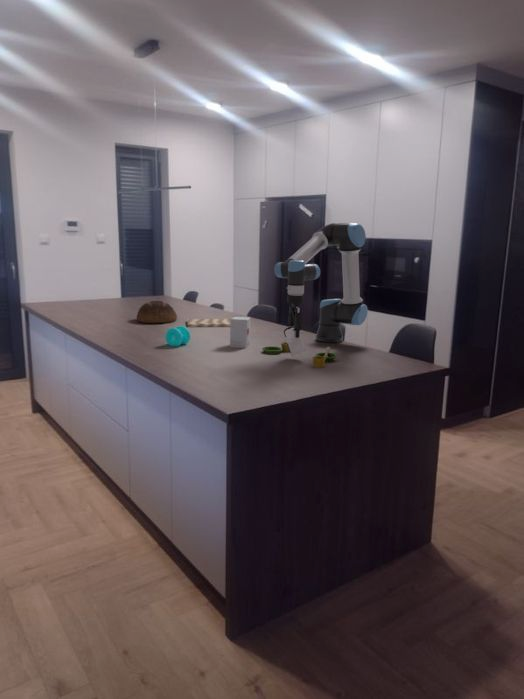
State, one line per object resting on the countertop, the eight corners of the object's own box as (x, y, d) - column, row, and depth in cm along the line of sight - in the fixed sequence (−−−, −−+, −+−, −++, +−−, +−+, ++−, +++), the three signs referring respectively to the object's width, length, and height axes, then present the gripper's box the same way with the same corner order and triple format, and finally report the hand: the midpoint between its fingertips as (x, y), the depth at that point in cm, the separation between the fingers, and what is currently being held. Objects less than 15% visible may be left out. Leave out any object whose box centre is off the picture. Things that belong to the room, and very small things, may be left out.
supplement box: (246, 348, 275) (247, 319, 272) (229, 347, 277) (229, 318, 274) (250, 345, 284) (251, 317, 280) (234, 344, 285) (234, 316, 282)
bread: (174, 317, 369) (173, 298, 366) (179, 323, 344) (179, 303, 341) (135, 318, 361) (134, 298, 359) (138, 324, 336) (137, 304, 334)
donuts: (164, 346, 277) (164, 327, 274) (176, 342, 285) (175, 324, 283) (180, 348, 272) (179, 329, 270) (191, 345, 281) (191, 326, 279)
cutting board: (232, 321, 356) (232, 318, 356) (236, 326, 337) (236, 324, 336) (186, 321, 351) (186, 319, 351) (187, 327, 332) (187, 324, 331)
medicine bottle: (289, 351, 256) (280, 329, 252) (303, 345, 256) (294, 323, 252) (292, 356, 249) (283, 333, 245) (306, 350, 249) (297, 327, 245)
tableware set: (351, 367, 246) (352, 354, 245) (300, 374, 233) (301, 359, 232) (302, 349, 281) (303, 337, 280) (256, 354, 268) (256, 341, 267)
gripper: (282, 291, 256) (281, 337, 261) (293, 297, 235) (291, 347, 240) (297, 291, 258) (296, 337, 263) (309, 297, 236) (307, 346, 241)
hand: (293, 342), depth 251 cm, fingers open, 10 cm apart
